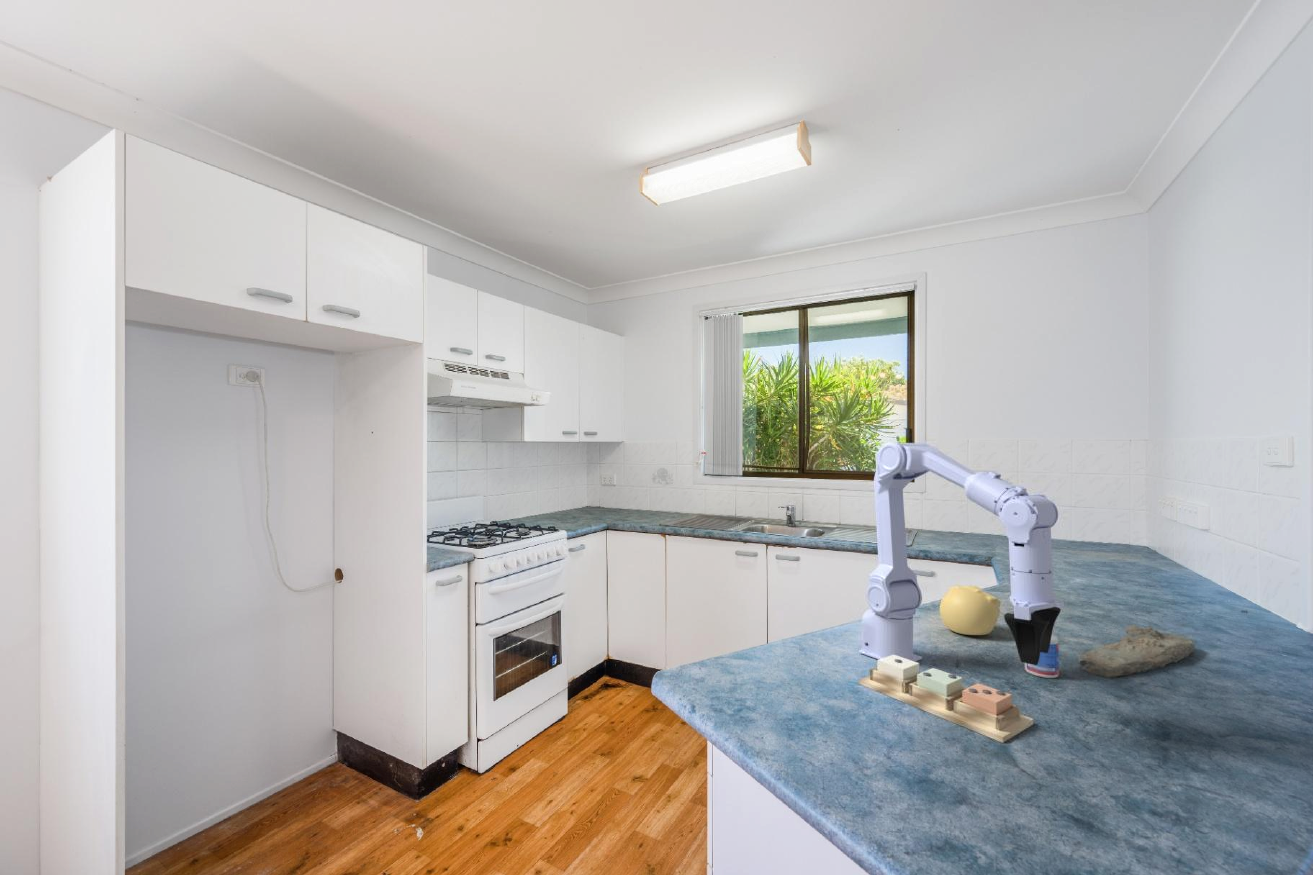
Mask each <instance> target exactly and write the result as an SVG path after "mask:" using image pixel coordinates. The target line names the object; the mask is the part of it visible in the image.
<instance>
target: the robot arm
mask: <svg viewBox="0 0 1313 875" xmlns="http://www.w3.org/2000/svg"><path fill="white" fill-rule="evenodd" d="M874 456H875V473H874V478H873V490H874V491H873V494H874V506H875V508H874V509H875V510H874V511H875V525H876V542H877V543H876V544H877V558H878V559H877V560H878V562H877V563H878V565H877V566H876V567H875V568H874V569H873V571H872V572H871V573H869V575H868V585H867V589H866V592H865V593H866V594H865V595H866V601H867V604H868V606H869V608H868V609H867V610H865V612H864V613H863V615H862V618H861V649H859V650H858V651H859V654H861V655H862V654H863V655H865V656H868V657H871V658H873V659H877V660H879V659H882V658H885V657H888V656H891V655H897V656H900V657H902V658H905V659H908V660H911V661H914V662H918V661H921V660H923V657H922V656H921V655H918V654H915V653H914V616H915V615H916V610H917V609H918V608H920V606H921V604H922V602H923V594H922V591H921V588H920V586H919V584H918V579H917V578H918V575H917V574H916V573H915V572H914V571H913V569H911V568H910V567H909V566H908V551H907V534H906V523H905V522H906V520H905V519H906V518H905V504H904V489H905V487H907V485H909V484H910V483H911V482H912V481H913V480H915V479H917V478H919V477H921V476H923V475H926V474H927V473H929V472H931V473H932V474H935V475H937V476H939V477H940V478H942V479H944V480H946V481H948V482H950V483H952V484H954V485H956V486H958V487H960V488H962V489H964V491H965V494H966V498H967V499H968V500H970V501H971V502H972V503H975V504H976V505H978V506H980V507H981V508H983V509H985V510H986V511H988V512H990V513H992V514H993V515H995V516H997V517H998V518H999V520H1000V522H1001V524H1002V526H1003V527H1004V528H1005V530H1006V538H1008V552H1009V554H1008V555H1009V558H1008V559H1009V575H1010V576H1009V578H1010V595H1009V602H1010V603H1011V604H1012V606H1013V612H1014V613H1010V612H1006V613H1004V615H1003V619H1004V621H1005V623H1006V625H1007V626H1008V628H1009V629H1010V632H1011V634H1012V636H1013V639H1014V642H1015V643H1014V644H1015V646H1016V649H1017V653H1018V656H1019V659H1020V662H1021V663H1022V664H1023V663H1024V664H1025V663H1028V664H1033V665H1037V664H1038V662H1039V658H1040V652H1043V653H1048V651H1049V647H1050V642H1051V636H1052V633H1053V632H1054V631H1053V627H1054V626H1055V624H1056V622H1057V618H1058V616H1059V615H1060V613H1061V611H1062V610H1061V608H1063V607H1064V606H1065V604H1064V603H1065V602H1064V601H1062V600H1057V599H1055V591H1054V589H1055V588H1054V568H1053V566H1054V565H1053V549H1052V530H1051V529H1052V528H1053V527H1054V526H1055V524H1056V523H1057V521H1058V518H1059V511H1058V507H1057V506H1056V504H1055V503H1054V501H1053V500H1052V499H1050V498H1048V497H1047V496H1046V495H1045V494H1041V493H1033V494H1032V493H1031V494H1029V493H1028V492H1027V488H1025V487H1023V486H1019V485H1018V486H1015V485H1014V484H1012V483H1010V482H1008V481H1006V480H1004V479H1002V478H1001V476H1002V474H1001V473H999V472H996V471H980V472H978V473H977V472H975V471H974V470H971V469H970V468H968V467H966V466H965V465H964V464H962V463H960V462H958V461H956V460H955V459H953V458H952V457H950V456H948V455H947V454H946V453H943V452H942V451H940V449H939V448H938V447H935V446H931V445H930V444H929V443H926V442H896V441H889V442H885V443H884V444H883V445H882V446H881V447H880V448H879V450H877V452H876V453H875V455H874ZM1054 628H1055V627H1054ZM1052 631H1053V632H1052Z"/></svg>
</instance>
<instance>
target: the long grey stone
mask: <svg viewBox="0 0 1313 875" xmlns="http://www.w3.org/2000/svg"><path fill="white" fill-rule="evenodd" d="M1125 633H1126V635H1124V636H1122V637H1121V638H1120V639H1119V640H1120V641H1117V642H1114V643H1110V644H1105V645H1103V646H1100V647H1096V648H1094V649H1090V650H1087V651H1082V652H1081V655H1082V656H1080V657H1078V661H1077V662H1078V663H1077V664H1078V665H1081V666H1082V670H1084V671H1085V672H1087V673H1089V674H1091V675H1094V676H1099V677H1103V678H1108V679H1109V678H1111V679H1113V678H1114V679H1115V678H1117V677H1121V676H1128V675H1132V674H1136V673H1146V671H1151V670H1152V671H1153V670H1155V669H1163V668H1164V667H1166V665H1169V664H1172V663H1173V664H1174V663H1177V662H1178V661H1182V660H1183V659H1186V658H1188V657H1189V655H1190V654H1192V653H1193V652H1194V650H1195V647H1196V645H1195V644H1194V642H1193V640H1191V639H1189V638H1188V637H1185V636H1183V635H1182V636H1181V635H1178V634H1176V633H1168V632H1160V631H1158V630H1157V629H1156V628H1155V629H1154V628H1152V627H1150V626H1149V627H1148V626H1147V627H1139V626H1138V625H1137V624H1135V625H1129V626H1127V628H1126V630H1125Z"/></svg>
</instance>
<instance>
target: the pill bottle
mask: <svg viewBox="0 0 1313 875" xmlns="http://www.w3.org/2000/svg"><path fill="white" fill-rule="evenodd" d="M1054 631H1055V627H1053V631H1052V636H1051V642H1050V647H1049V651H1048V653H1043V652H1040V658H1039V662H1038V664H1037V665H1033V664H1028V663H1024V670H1025V671H1026V672H1027V673H1028V674H1029V675H1033V676H1035V677H1036V676H1037V677H1040V678H1045V679H1046V678H1047V679H1055V678H1056V679H1057V677H1059V673H1060V671H1059V670H1060V668H1059V667H1060V665H1059V663H1060V662H1059V656H1060V654H1059V650H1060V649H1059V638H1058V636H1057V635H1056V634H1054V633H1053V632H1054Z"/></svg>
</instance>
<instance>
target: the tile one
mask: <svg viewBox="0 0 1313 875" xmlns="http://www.w3.org/2000/svg"><path fill="white" fill-rule="evenodd" d="M876 662H877V665H876V667H877V671H879V672H882V673H885V674H887V675H890V676H893V677H895V678H898V679H900V680H903V681H905V680H907V679H910V678H912V677H915V676H917V674H919V671H920V662H918V661H916V662H914V661H911V660H908V659H905V658H902V657H900V656H897V655H891V656H888V657H885V658H882V659H877V661H876Z"/></svg>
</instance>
